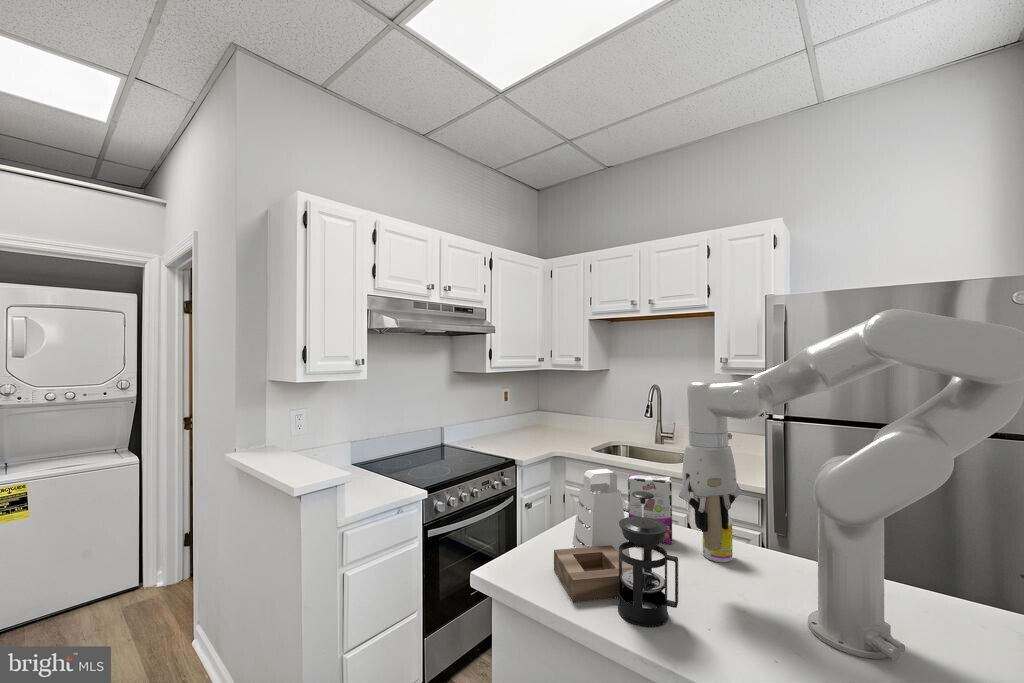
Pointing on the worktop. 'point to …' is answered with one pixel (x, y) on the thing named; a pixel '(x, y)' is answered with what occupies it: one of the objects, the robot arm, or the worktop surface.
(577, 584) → the socket block
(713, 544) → the handle
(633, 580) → the french press
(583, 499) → the grater
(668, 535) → the candy bar box
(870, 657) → the robot arm
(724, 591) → the worktop surface
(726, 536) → the supplement bottle
